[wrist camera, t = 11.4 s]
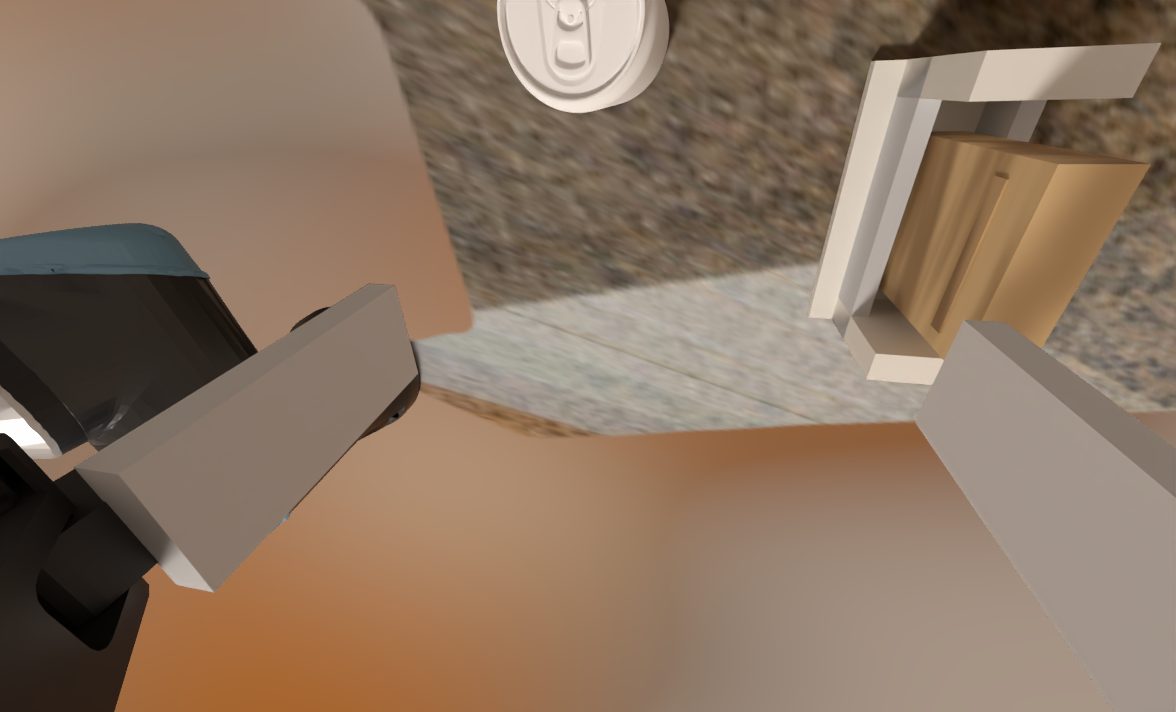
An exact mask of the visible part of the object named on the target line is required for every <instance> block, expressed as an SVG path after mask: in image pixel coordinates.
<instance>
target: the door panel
mask: <svg viewBox="0 0 1176 712" xmlns="http://www.w3.org/2000/svg"><path fill="white" fill-rule="evenodd" d="M1150 165H1151V164H1147V163H1141V162H1136V161H1130V160H1124V159H1119V158H1113V157H1108V156H1102V155H1096V154H1091V153H1085V152H1080V151H1074V150H1068V149H1063V148H1057V147H1051V146H1046V145H1040V144H1035V143H1029V142H1023V141H1018V140H1012V139H1007V138H1001V137H995V136H990V135H984V134H979V133H973V132H967V131H936V132H931V134H930V137H929V140H928V143H927V146H926V149H925V152H924V155H923V158H922V161H921V164H920V167H919V170H918V172H917V175H916V178H915V181H914V184H913V187H912V190H911V193H910V196H909V199H908V202H907V205H906V208H905V211H904V214H903V217H902V220H901V223H900V225H899V228H898V231H897V234H896V237H895V240H894V243H893V246H892V249H891V252H890V255H889V258H888V261H887V264H886V267H885V270H884V273H883V275H882V278H881V281H880V284H879V288H880V289H881V291H882V292H883V293H884V294H885V295H886V296H887V297H888V298H889V300H890V301H891V302H892V303H893V304H894V305H895V306H896V307H897V308H898V310H899V311H900V312H901V313H902V314H903V315H904V316H905V317H906V319H907V320H908V321H909V322H910V323H911V324H912V325H913V326H914V328H915V329H916V330H917V331H918V332H919V333H920V334H921V335H922V336H923V338H924V339H925V340H926V341H927V342H928V343H929V344H930V345H931V347H932V348H933V349H934V350H935V351H936V352H937V353H938V354H939V356H940V357H941V358H942V359H943V360H945V357H946V355H947V353H948V351H949V349H950V347H951V345H952V343H953V341H954V339H955V337H956V334H957V332H958V330H959V328H960V326H961V324H962V322H963V320H977V321H993V322H1006V323H1007V324H1008V325H1010V326H1011V327H1012V328H1014V329H1015V330H1017V331H1018V332H1019V333H1021V334H1022V335H1023V336H1025V337H1026V338H1027V339H1029V340H1030V341H1031V342H1033V343H1034V344H1036V345H1037V346H1038V347H1040V348H1042V347H1043V345H1044V343H1045V341H1046V340H1047V338H1048V336H1049V335H1050V333H1051V331H1052V330H1053V328H1054V326H1055V325H1056V323H1057V321H1058V320H1059V318H1060V316H1061V315H1062V313H1063V311H1064V310H1065V308H1066V306H1067V305H1068V303H1069V301H1070V299H1071V298H1072V296H1073V294H1074V293H1075V291H1076V289H1077V288H1078V286H1079V284H1080V283H1081V281H1082V279H1083V278H1084V276H1085V274H1086V273H1087V271H1088V269H1089V268H1090V266H1091V264H1092V262H1093V261H1094V259H1095V257H1096V256H1097V254H1098V252H1099V251H1100V249H1101V247H1102V246H1103V244H1104V242H1105V241H1106V239H1107V237H1108V236H1109V234H1110V232H1111V231H1112V229H1113V227H1114V226H1115V224H1116V222H1117V220H1118V219H1119V217H1120V215H1121V214H1122V212H1123V210H1124V209H1125V207H1126V205H1127V204H1128V202H1129V200H1130V199H1131V197H1132V195H1133V194H1134V192H1135V190H1136V189H1137V187H1138V185H1139V184H1140V182H1141V180H1142V178H1143V177H1144V175H1145V173H1146V172H1147V170H1148V168H1149V167H1150Z"/></svg>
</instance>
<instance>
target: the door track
mask: <svg viewBox="0 0 1176 712" xmlns="http://www.w3.org/2000/svg"><path fill="white" fill-rule="evenodd" d="M1160 45H1161V43H1148V44H1125V45H1102V46H1079V47H1056V48H1033V49H1011V50H988V51H979V52H970V53H961V54H952V55H943V56H934V57H925V58H916V59H907V60H883V61H871V64H870V68H869V72H868V76H867V80H866V84H865V88H864V91H863V95H862V99H861V103H860V107H859V111H858V115H857V119H856V123H855V127H854V130H853V134H852V138H851V142H850V146H849V150H848V154H847V158H846V162H845V166H844V169H843V173H842V177H841V181H840V185H839V189H838V193H837V197H836V201H835V205H834V208H833V212H832V216H831V220H830V224H829V228H828V232H827V236H826V240H825V244H824V247H823V251H822V255H821V259H820V263H819V267H818V271H817V275H816V279H815V283H814V286H813V290H812V294H811V298H810V302H809V306H808V310H807V315H808V317H809V318H825V319H832V320H833V322H834V324H835V326H836V327H837V329H838V331H839V333H840V334H841V336H842V338H843V339H844V341H845V343H846V345H847V346H848V348H849V350H850V352H851V353H852V355H853V357H854V359H855V360H856V362H857V364H858V366H859V367H860V369H861V371H862V373H863V374H864V376H865V378H866V379H868V380H880V381H892V382H904V383H916V384H928V385H933V382H934V380H935V378H936V376H937V374H938V372H939V370H940V368H941V366H942V364H943V362H944V360H943V359H942V358H941V357H940V356H939V354H938V353H937V352H936V351H935V350H934V349H933V348H932V347H931V345H930V344H929V343H928V342H927V341H926V340H925V339H924V338H923V336H922V335H921V334H920V333H919V332H918V331H917V330H916V329H915V328H914V326H913V325H912V324H911V323H910V322H909V321H908V320H907V319H906V317H905V316H904V315H903V314H902V313H901V312H900V311H899V310H898V308H897V307H896V306H895V305H894V304H893V303H892V302H891V301H890V300H889V298H888V297H887V296H886V295H885V294H884V293H883V292H882V291H881V289H880V288H879V284H880V281H881V278H882V275H883V273H884V270H885V267H886V264H887V261H888V258H889V255H890V252H891V249H892V246H893V243H894V240H895V237H896V234H897V231H898V228H899V225H900V223H901V220H902V217H903V214H904V211H905V208H906V205H907V202H908V199H909V196H910V193H911V190H912V187H913V184H914V181H915V178H916V175H917V172H918V170H919V167H920V164H921V161H922V158H923V155H924V152H925V149H926V146H927V143H928V140H929V137H930V134H931V132H936V131H967V132H973V133H979V134H984V135H990V136H995V137H1001V138H1007V139H1012V140H1018V141H1023V142H1029V140H1030V138H1031V136H1032V133H1033V131H1034V129H1035V127H1036V124H1037V122H1038V120H1039V118H1040V116H1041V113H1042V111H1043V109H1044V107H1045V104H1046V102H1047V100H1061V99H1102V98H1132V97H1133V95H1134V94H1135V92H1136V90H1137V88H1138V86H1139V84H1140V82H1141V80H1142V79H1143V77H1144V75H1145V73H1146V71H1147V69H1148V67H1149V65H1150V64H1151V62H1152V60H1153V58H1154V56H1155V54H1156V52H1157V51H1158V49H1159V47H1160Z"/></svg>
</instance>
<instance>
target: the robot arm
mask: <svg viewBox="0 0 1176 712" xmlns="http://www.w3.org/2000/svg"><path fill="white" fill-rule="evenodd" d="M209 279H210V277H209V275H208V274H207V273H205V272H204V271H202V270H201V269H200V268H199V267H198V265H197V264H196V263H195V262H194V261H193V259H192V258H191V257H190V256H189V254H188V253H187V251H186V250H185V249H184V248H183V246H182V245H181V244H180V242H179V241H178V240H177V239H176V238H175V237H174V236H173V235H172V234H170V233H169V232H167V231H166V230H164V229H162V228H159V227H156V226H153V225H148V224H142V223H128V224H127V223H125V224H112V225H101V226H91V227H82V228H74V229H66V230H59V231H50V232H43V233H37V234H30V235H23V236H16V237H10V238H4V239H0V712H114V710H115V707H116V704H117V701H118V697H119V694H120V691H121V687H122V684H123V681H124V677H125V674H126V671H127V667H128V664H129V661H130V657H131V654H132V651H133V647H134V644H135V641H136V637H137V634H138V631H139V627H140V624H141V621H142V617H143V614H144V611H145V607H146V604H147V601H148V597H149V584H148V583H147V582H146V581H145V580H144V579H143V578H142V576H143V575H144V574H145V573H147V572H148V571H149V570H150V569H151V568H152V567H153V566H154V565H155V564H156V563H158V564H159V565H160V567H161V568H162V569H163V570H164V571H165V572H166V573H167V574H168V576H169V577H170V578H171V579H172V580H173V581H174V583H175V584H176V585H181V586H186V587H190V588H195V589H200V590H205V591H210V592H215V591H216V590H217V589H218V588H219V587H220V586H221V585H222V584H223V583H224V582H225V581H226V579H227V578H228V577H229V576H230V575H231V574H232V573H233V572H234V571H235V570H236V569H237V568H238V567H239V566H240V564H241V563H242V562H243V561H244V560H245V559H246V558H247V557H248V556H249V555H250V554H251V553H252V551H253V550H254V549H255V548H256V547H257V546H258V545H259V544H260V543H261V542H262V541H263V540H264V539H265V538H266V536H267V535H268V534H269V533H271V532H272V531H273V530H274V529H275V528H276V527H277V526H278V525H280V523H282V522H283V521H285V520H286V519H288V518H289V516H290V513H291V512H292V511H293V510H294V509H295V508H296V507H297V505H298V504H299V503H300V502H301V501H302V500H303V499H304V498H305V497H306V496H307V495H308V494H309V493H310V491H311V490H312V489H313V488H314V487H315V486H316V485H317V484H318V483H319V482H320V481H321V480H322V479H323V477H324V476H325V475H326V474H327V473H328V472H329V471H330V470H331V469H332V468H333V467H334V466H335V464H336V463H337V462H338V461H339V460H340V459H341V458H342V457H343V456H344V455H345V454H346V453H347V452H348V451H349V449H350V448H351V447H352V446H353V445H354V444H355V443H356V442H357V441H358V440H361V439H362V438H364V437H366V436H368V435H370V434H372V433H374V432H376V431H378V430H380V429H381V428H383V427H385V426H387V425H389V424H391V423H393V422H395V421H396V420H398V419H399V418H400V417H402V416H403V414H405V412H406V411H407V410H408V409H409V408H410V407H411V406H412V405H413V403H414V402H415V400H416V398H417V396H418V393H419V388H420V380H419V374H418V370H417V366H416V362H415V359H414V355H413V351H412V347H411V344H410V340H409V336H408V333H407V328H406V325H405V321H404V317H403V313H402V310H401V306H400V302H399V298H398V294H397V291H396V287H395V285H384V284H383V285H382V284H367V285H366V286H364V287H362V288H361V289H359V290H358V291H356V292H354V293H353V294H351V295H350V296H348V297H346V298H345V299H343V300H341V301H340V302H338V303H337V304H335V305H333V306H332V307H326V308H322V309H319V310H317V311H315V312H313V313H312V314H310V315H308V316H307V317H305V318H303V319H302V320H300V321H299V322H298V323H297V324H296V325H295V326H294V327H293V328H292V329H291V331H290V333H288V334H287V335H285V336H284V337H282V338H280V339H279V340H277V341H276V342H274V343H272V344H271V345H269V346H268V347H266V348H264V349H263V350H261V351H260V352H258V351H257V349H256V348H255V347H254V345H253V344H252V342H251V341H250V339H249V338H248V337H247V335H246V334H245V332H244V331H243V330H242V328H241V327H240V325H239V324H238V323H237V321H236V319H235V318H234V317H233V315H232V314H231V312H230V311H229V309H228V308H227V306H226V305H225V303H224V302H223V300H222V299H221V297H220V296H219V294H218V293H217V291H216V290H215V288H214V287H213V285H212V284H211V282H210V281H209ZM915 423H916V424H917V426H918V427H919V428H920V430H921V431H922V433H923V434H924V436H925V437H926V438H927V440H928V442H929V443H930V445H931V446H932V448H933V449H934V451H935V452H936V453H937V455H938V456H939V458H940V459H941V461H942V462H943V464H944V465H945V467H946V468H947V470H948V471H949V473H950V474H951V475H952V477H953V478H954V480H955V481H956V483H957V484H958V486H959V487H960V489H961V490H962V492H963V493H964V494H965V496H966V497H967V499H968V500H969V502H970V503H971V505H972V506H973V508H974V509H975V510H976V512H977V513H978V515H979V516H980V518H981V519H982V521H983V522H984V524H985V525H986V527H987V528H988V530H989V531H990V532H991V534H992V535H993V537H994V538H995V540H996V541H997V543H998V544H999V546H1000V547H1001V549H1002V550H1003V552H1004V553H1005V554H1006V556H1007V557H1008V559H1009V560H1010V562H1011V563H1012V565H1013V566H1014V568H1015V569H1016V571H1017V572H1018V573H1019V575H1020V577H1021V578H1022V579H1023V581H1024V582H1025V584H1026V585H1027V587H1028V588H1029V590H1030V591H1031V592H1032V594H1033V596H1034V597H1035V598H1036V600H1037V601H1038V603H1039V604H1040V606H1041V607H1042V609H1043V610H1044V612H1045V613H1046V614H1047V616H1048V617H1049V619H1050V620H1051V622H1052V623H1053V625H1054V626H1055V628H1056V629H1057V631H1058V632H1059V634H1060V635H1061V637H1062V638H1063V639H1064V641H1065V642H1066V644H1067V645H1068V647H1069V648H1070V650H1071V651H1072V653H1073V654H1074V655H1075V657H1076V658H1077V660H1078V661H1079V663H1080V664H1081V666H1082V667H1083V669H1084V670H1085V672H1086V673H1087V675H1088V676H1089V677H1090V679H1091V680H1092V682H1093V683H1094V685H1095V686H1096V688H1097V689H1098V691H1099V692H1100V694H1101V695H1102V697H1103V698H1104V700H1105V701H1106V702H1107V704H1108V705H1109V707H1110V708H1111V710H1112V711H1113V712H1176V448H1175V447H1174V446H1172V445H1171V444H1169V443H1168V442H1167V441H1166V440H1164V439H1163V438H1161V437H1160V436H1159V435H1157V434H1156V433H1155V432H1153V431H1152V430H1151V429H1149V428H1148V427H1146V426H1145V425H1144V424H1143V423H1141V422H1140V421H1138V420H1137V419H1136V418H1134V417H1133V416H1132V415H1130V414H1129V413H1128V412H1126V411H1125V410H1124V409H1122V408H1121V407H1119V406H1118V405H1117V404H1115V403H1114V402H1113V401H1111V400H1110V399H1109V398H1107V397H1106V396H1105V395H1103V394H1102V393H1101V392H1099V391H1098V390H1096V389H1095V388H1094V387H1092V386H1091V385H1090V384H1088V383H1087V382H1086V381H1084V380H1083V379H1082V378H1080V377H1079V376H1078V375H1076V374H1075V373H1073V372H1072V371H1071V370H1069V369H1068V368H1067V367H1065V366H1064V365H1063V364H1061V363H1060V362H1059V361H1057V360H1056V359H1054V358H1053V357H1052V356H1050V355H1049V354H1048V353H1046V352H1045V351H1044V350H1042V349H1041V348H1040V347H1038V346H1037V345H1036V344H1034V343H1033V342H1031V341H1030V340H1029V339H1027V338H1026V337H1025V336H1023V335H1022V334H1021V333H1019V332H1018V331H1017V330H1015V329H1014V328H1012V327H1011V326H1010V325H1008V324H1007V323H1006V322H993V321H977V320H963V322H962V324H961V326H960V328H959V330H958V332H957V334H956V337H955V339H954V341H953V343H952V345H951V347H950V349H949V351H948V353H947V355H946V357H945V360H944V362H943V364H942V366H941V368H940V370H939V372H938V374H937V376H936V378H935V380H934V382H933V385H932V387H931V389H930V391H929V393H928V395H927V397H926V399H925V401H924V403H923V405H922V407H921V410H920V412H919V414H918V416H917V418H916V420H915ZM85 442H89V443H90V444H91V445H92V446H93V447H95V449H96V450H97V451H99V452H97V453H96V454H94V455H93V456H91V457H89V458H88V459H86V460H84V461H83V462H81V463H80V464H78V465H76V466H75V467H74V468H75V469H74V470H72V471H71V472H69V473H67V474H66V475H64V476H62V477H61V478H59V479H57V480H55V481H52V480H51V479H50V478H49V477H48V476H47V475H46V474H45V473H44V472H43V471H42V470H41V468H40V467H39V466H38V465H37V464H36V463H35V462H34V461H33V460H32V459H34V458H35V459H55V458H57V457H59V456H61V455H63V454H65V453H66V452H68V451H70V450H72V449H74V448H76V447H78V446H80V445H81V444H83V443H85Z"/></svg>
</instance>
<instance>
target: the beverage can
mask: <svg viewBox="0 0 1176 712" xmlns="http://www.w3.org/2000/svg"><path fill="white" fill-rule="evenodd" d="M497 15H498V25H499V31H500V35H501V40H502V44H503V47H504V50H505V53H506V56H507V58H508V61H509V63H510V65H511V67H512V69H513V71H514V72H515V74H516V76H517V77H518V79H519V80H520V81H521V83H522V84H523V85H524V86H525V87H526V89H527V90H528V91H529V92H530V93H532V94H533V95H534V96H535V97H536V98H537V99H539V100H540V101H542V102H543V103H545V104H547V105H549V106H551V107H553V108H555V109H558V110H561V111H565V112H572V113H584V112H591V111H595V110H599V109H602V108H606V107H610V106H614V105H617V104H621V103H624V102H627V101H629V100H631V99H633V98H634V97H636V96H637V95H639V94H640V93H641V92H643V91H644V90H645V89H646V88H647V87H648V86H649V85H650V83H651V82H652V81H653V79H654V78H655V76H656V75H657V73H658V71H659V69H660V67H661V65H662V63H663V60H664V58H665V54H666V51H667V46H668V40H669V18H668V11H667V7H666V3H665V0H497Z"/></svg>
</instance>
